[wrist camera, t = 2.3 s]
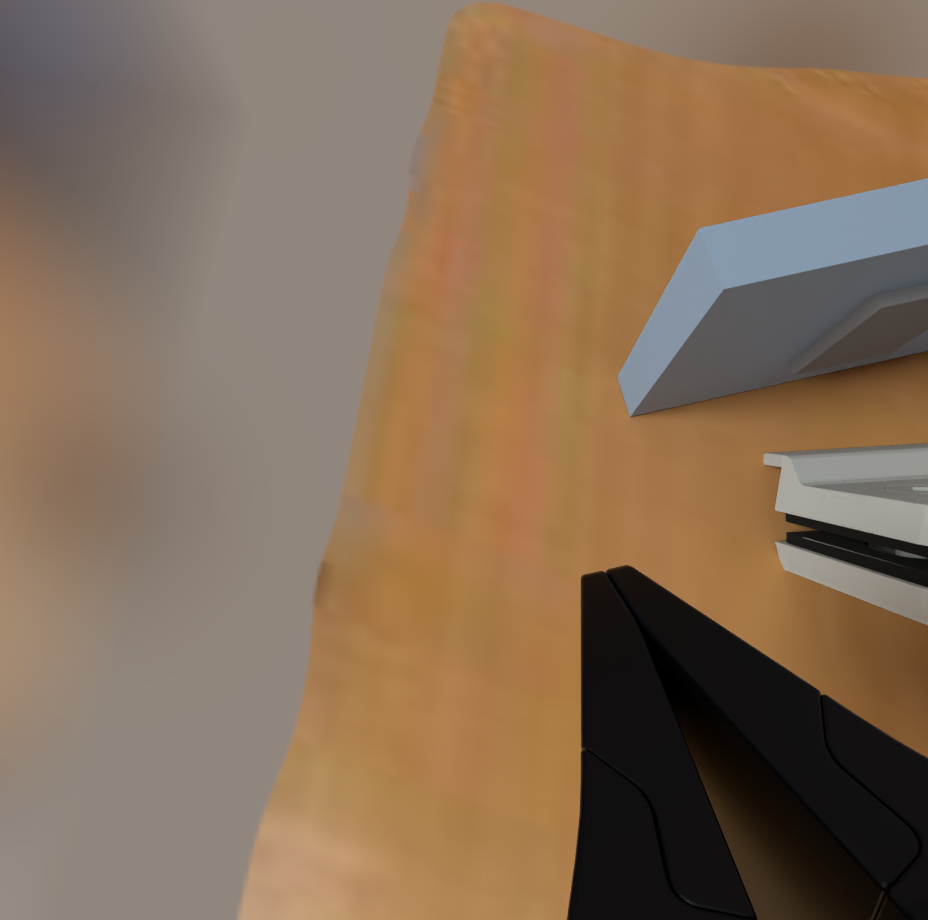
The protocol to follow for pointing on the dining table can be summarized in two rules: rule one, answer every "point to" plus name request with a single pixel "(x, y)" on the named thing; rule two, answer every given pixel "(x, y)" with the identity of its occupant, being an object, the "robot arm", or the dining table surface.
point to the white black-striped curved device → (859, 522)
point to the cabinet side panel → (787, 299)
